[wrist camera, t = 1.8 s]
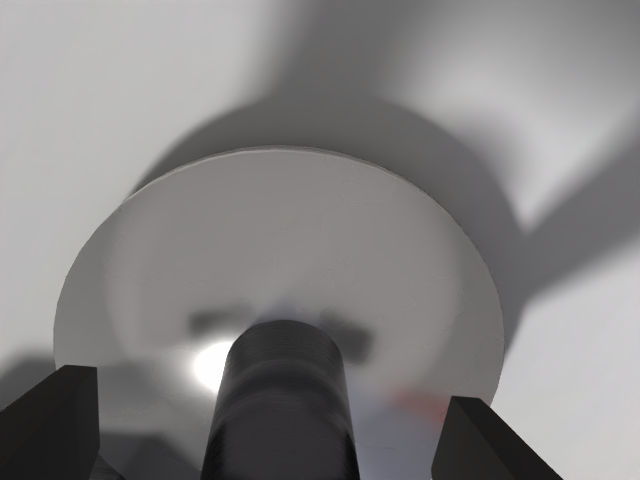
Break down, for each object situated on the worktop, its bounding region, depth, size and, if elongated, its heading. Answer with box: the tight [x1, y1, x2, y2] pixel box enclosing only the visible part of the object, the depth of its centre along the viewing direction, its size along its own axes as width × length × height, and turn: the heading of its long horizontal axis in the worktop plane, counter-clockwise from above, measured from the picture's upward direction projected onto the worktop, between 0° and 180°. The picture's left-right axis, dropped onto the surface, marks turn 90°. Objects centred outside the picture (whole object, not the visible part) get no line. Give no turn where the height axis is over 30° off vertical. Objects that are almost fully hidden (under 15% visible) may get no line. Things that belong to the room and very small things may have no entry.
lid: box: [53, 145, 505, 480], centre depth 11 cm, size 10×10×5 cm
